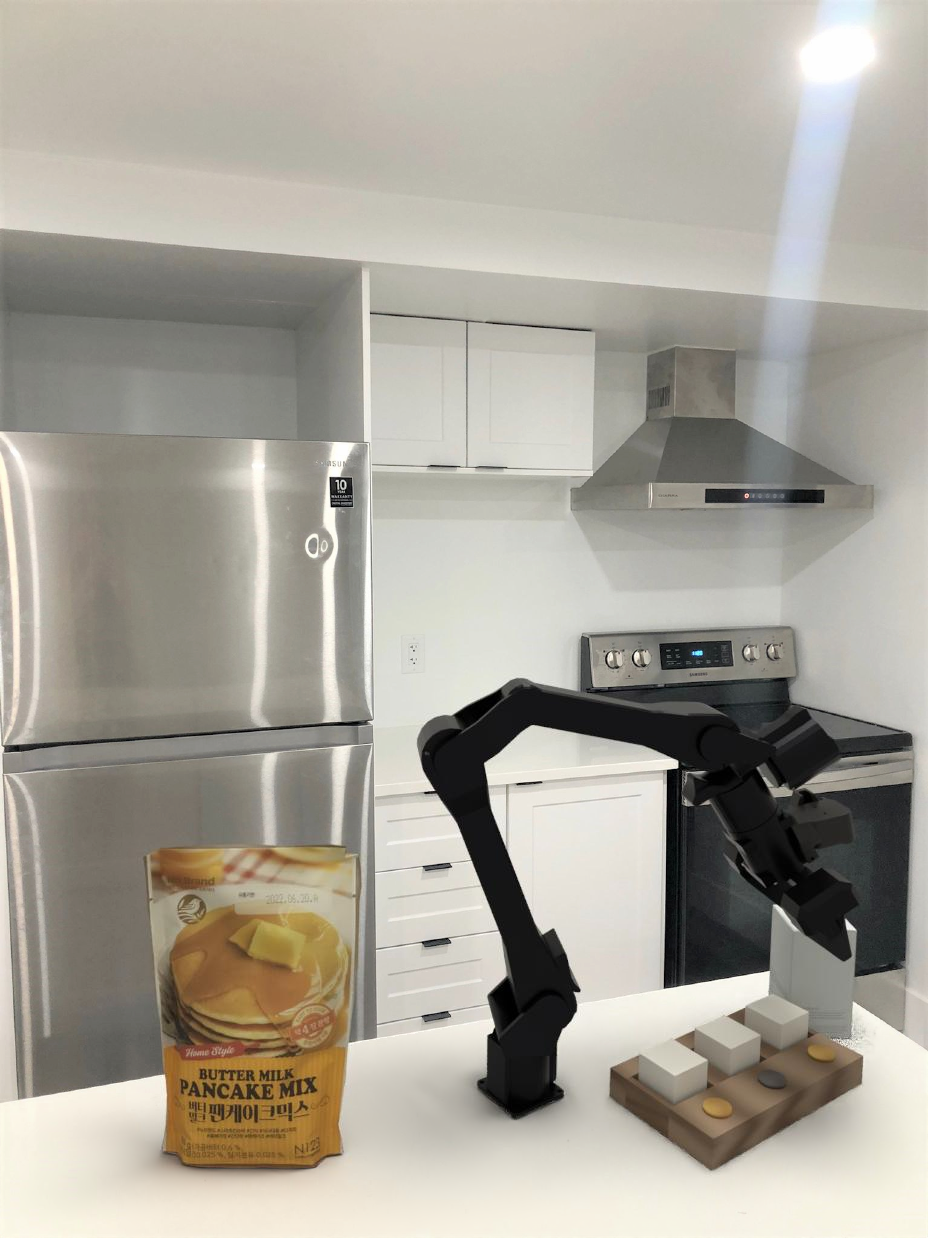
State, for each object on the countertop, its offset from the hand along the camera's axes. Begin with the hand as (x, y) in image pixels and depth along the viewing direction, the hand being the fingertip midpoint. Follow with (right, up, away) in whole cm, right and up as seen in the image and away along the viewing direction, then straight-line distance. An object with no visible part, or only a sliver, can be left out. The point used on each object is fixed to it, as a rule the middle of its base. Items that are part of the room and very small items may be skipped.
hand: (824, 938), depth 96 cm
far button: (-4, -12, +4) cm, 13 cm away
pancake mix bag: (-56, -16, -10) cm, 59 cm away
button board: (-9, -15, -1) cm, 18 cm away
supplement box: (+3, -14, +12) cm, 19 cm away
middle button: (-10, -13, 0) cm, 16 cm away
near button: (-17, -13, -5) cm, 22 cm away
